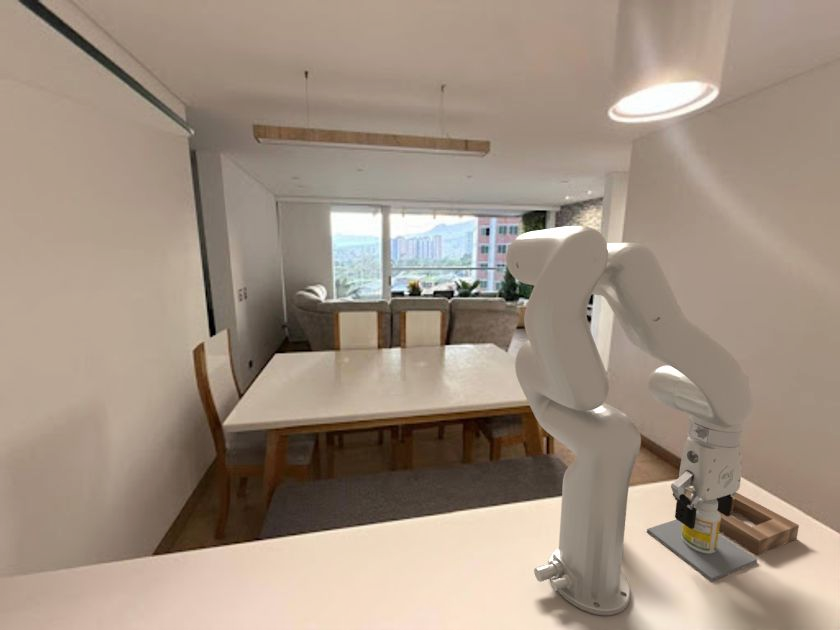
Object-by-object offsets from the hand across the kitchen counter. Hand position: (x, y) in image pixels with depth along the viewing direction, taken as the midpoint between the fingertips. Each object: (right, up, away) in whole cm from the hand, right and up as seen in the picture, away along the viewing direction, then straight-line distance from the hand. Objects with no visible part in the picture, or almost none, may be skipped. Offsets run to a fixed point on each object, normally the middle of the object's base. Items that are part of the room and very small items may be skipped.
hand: (702, 517), depth 68 cm
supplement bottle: (0, -6, +1) cm, 6 cm away
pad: (0, -6, +1) cm, 6 cm away
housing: (+12, -5, +8) cm, 15 cm away
